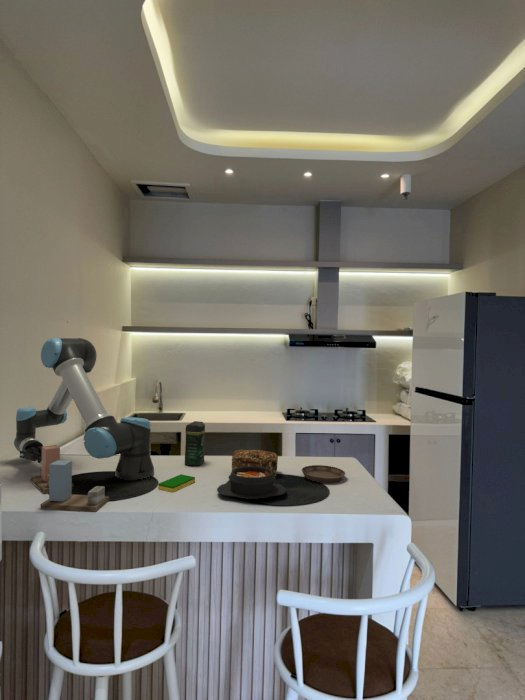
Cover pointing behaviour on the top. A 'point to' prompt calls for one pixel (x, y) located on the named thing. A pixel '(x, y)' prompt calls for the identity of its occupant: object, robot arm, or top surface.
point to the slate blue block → (60, 480)
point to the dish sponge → (176, 483)
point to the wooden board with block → (80, 501)
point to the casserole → (251, 483)
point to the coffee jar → (194, 443)
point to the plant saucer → (323, 473)
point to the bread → (255, 459)
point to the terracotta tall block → (49, 458)
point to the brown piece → (42, 483)
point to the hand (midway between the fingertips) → (48, 460)
